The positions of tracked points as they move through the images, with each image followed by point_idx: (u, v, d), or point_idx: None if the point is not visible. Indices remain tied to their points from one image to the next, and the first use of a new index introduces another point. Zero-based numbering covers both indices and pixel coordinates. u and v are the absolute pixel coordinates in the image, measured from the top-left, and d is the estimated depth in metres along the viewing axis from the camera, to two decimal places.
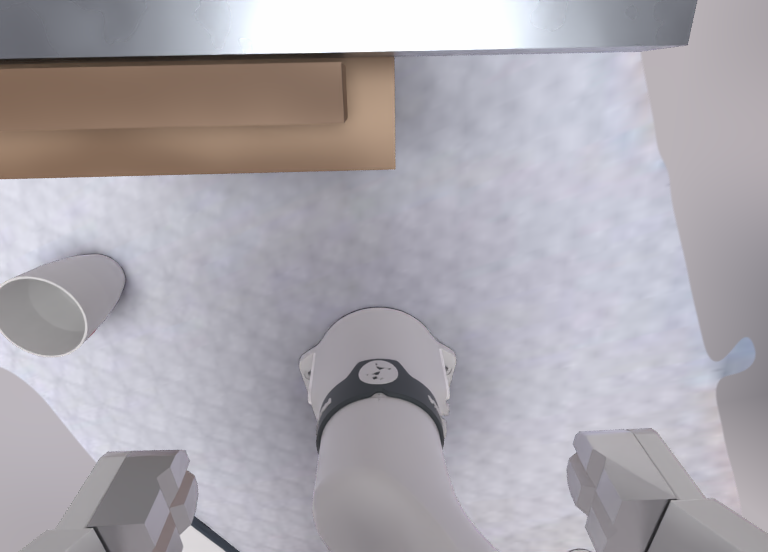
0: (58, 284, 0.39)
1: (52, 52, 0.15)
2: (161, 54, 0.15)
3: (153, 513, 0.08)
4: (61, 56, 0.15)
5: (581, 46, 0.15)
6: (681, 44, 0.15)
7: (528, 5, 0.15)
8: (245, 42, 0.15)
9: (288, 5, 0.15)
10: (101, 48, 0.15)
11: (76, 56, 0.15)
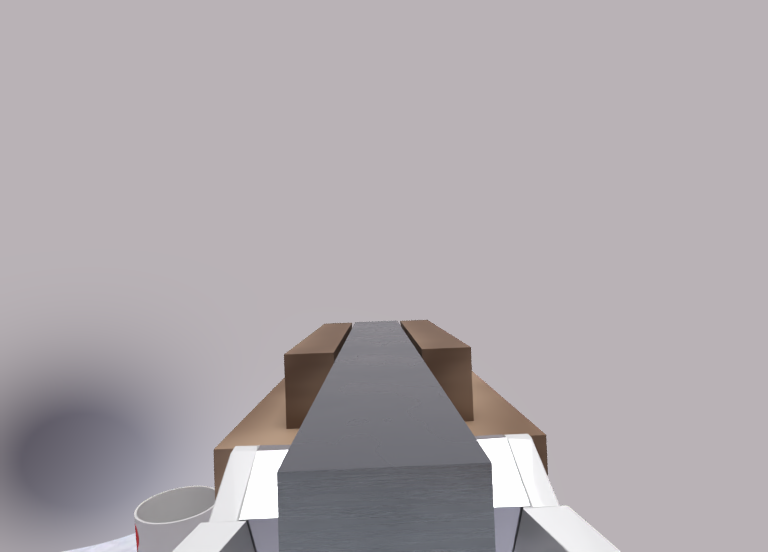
0: (200, 515, 0.44)
1: (354, 327, 0.28)
2: (349, 333, 0.24)
3: None
4: (352, 328, 0.28)
5: (314, 403, 0.10)
6: (281, 467, 0.06)
7: (371, 381, 0.12)
8: (353, 340, 0.21)
9: (375, 343, 0.20)
10: (355, 330, 0.26)
11: (352, 329, 0.27)
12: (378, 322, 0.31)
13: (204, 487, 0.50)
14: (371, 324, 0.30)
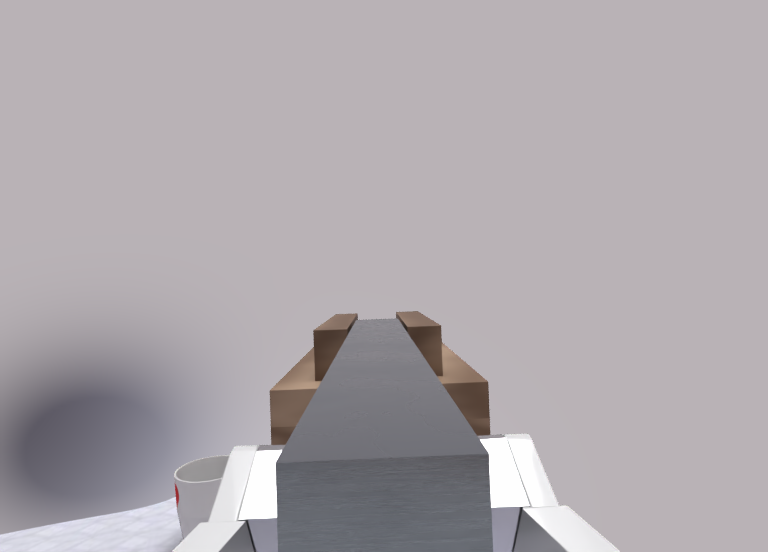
0: None
1: (355, 325, 0.28)
2: (350, 330, 0.24)
3: None
4: (353, 326, 0.28)
5: (313, 397, 0.10)
6: (280, 458, 0.06)
7: (371, 376, 0.12)
8: (353, 337, 0.21)
9: (375, 340, 0.20)
10: (356, 327, 0.26)
11: (353, 327, 0.27)
12: (379, 320, 0.31)
13: None
14: (372, 322, 0.30)
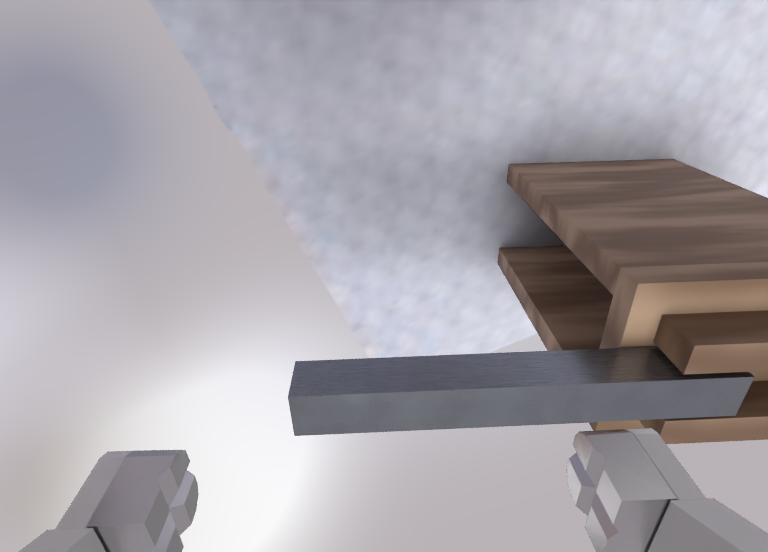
0: None
1: (676, 382, 0.25)
2: (613, 383, 0.25)
3: (153, 513, 0.08)
4: (672, 380, 0.25)
5: (355, 394, 0.25)
6: (292, 396, 0.24)
7: (392, 409, 0.25)
8: (561, 389, 0.25)
9: (531, 404, 0.25)
10: (647, 384, 0.25)
11: (664, 380, 0.25)
12: (728, 399, 0.26)
13: None
14: (707, 394, 0.26)
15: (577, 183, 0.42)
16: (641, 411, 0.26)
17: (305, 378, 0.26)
